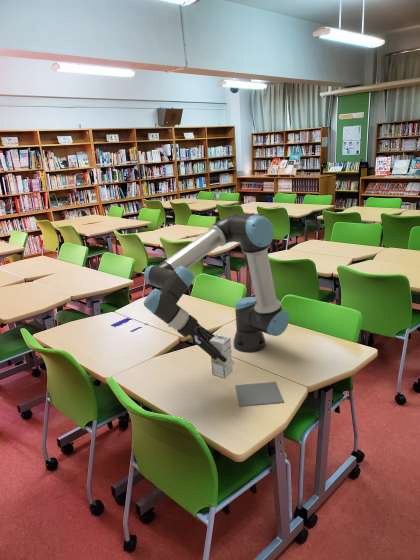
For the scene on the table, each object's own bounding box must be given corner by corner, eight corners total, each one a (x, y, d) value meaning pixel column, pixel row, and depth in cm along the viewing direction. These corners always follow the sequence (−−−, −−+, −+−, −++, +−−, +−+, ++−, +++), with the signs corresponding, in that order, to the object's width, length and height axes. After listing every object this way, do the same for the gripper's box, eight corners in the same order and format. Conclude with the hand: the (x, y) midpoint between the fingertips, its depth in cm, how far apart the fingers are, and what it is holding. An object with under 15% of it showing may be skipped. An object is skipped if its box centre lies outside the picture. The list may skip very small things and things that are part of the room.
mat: (235, 386, 165) (235, 385, 164) (275, 382, 165) (275, 381, 165) (240, 406, 151) (240, 405, 151) (284, 402, 152) (284, 401, 152)
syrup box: (233, 371, 156) (231, 336, 151) (225, 379, 151) (222, 342, 147) (220, 368, 159) (217, 333, 154) (211, 375, 154) (209, 339, 150)
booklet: (141, 335, 218) (141, 334, 217) (110, 326, 233) (110, 325, 232) (158, 327, 227) (158, 326, 227) (127, 318, 242) (127, 317, 242)
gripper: (176, 319, 158) (221, 353, 164) (175, 342, 139) (227, 381, 144) (189, 304, 157) (234, 340, 162) (190, 326, 137) (241, 366, 143)
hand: (230, 359), depth 153 cm, fingers closed on syrup box, 8 cm apart
